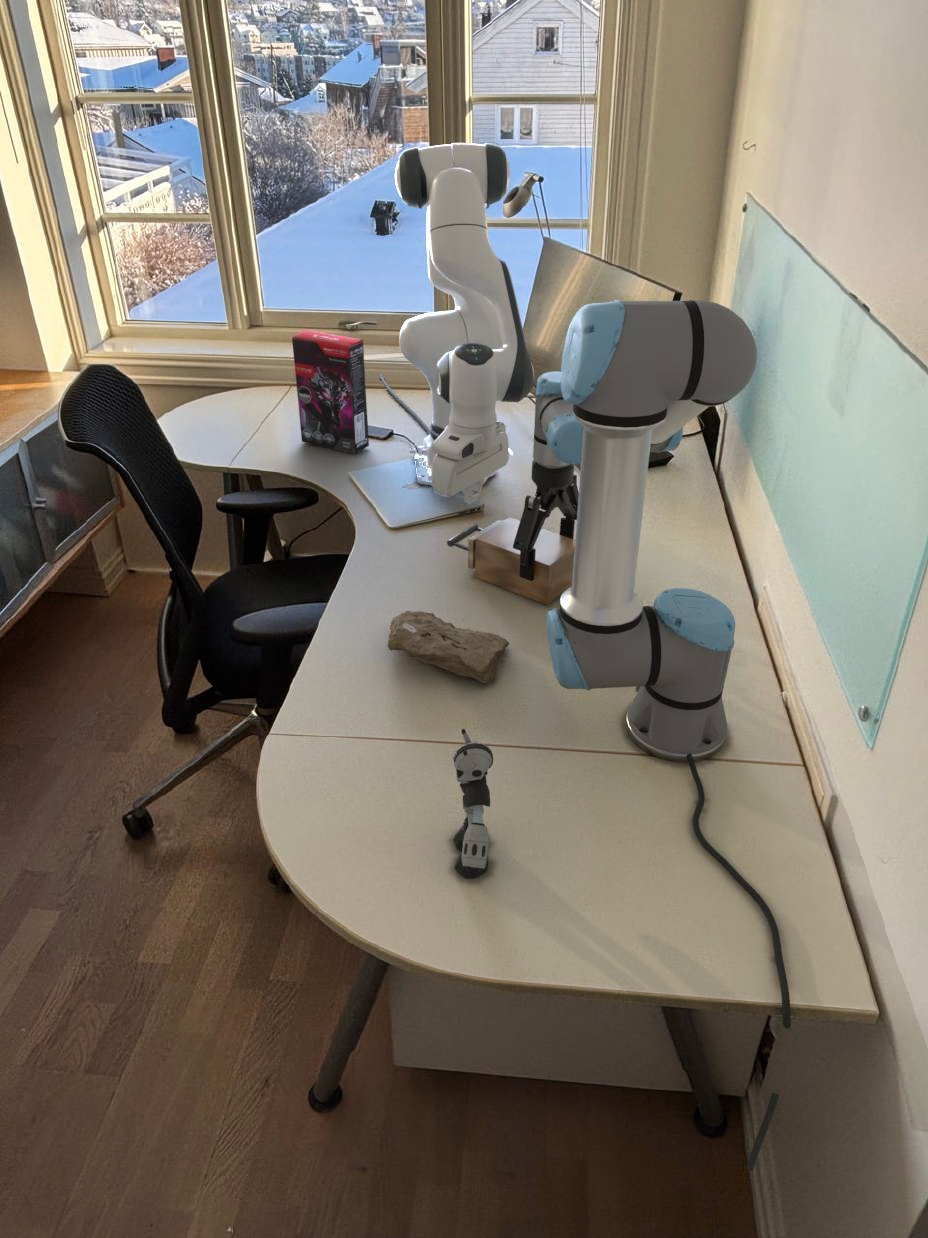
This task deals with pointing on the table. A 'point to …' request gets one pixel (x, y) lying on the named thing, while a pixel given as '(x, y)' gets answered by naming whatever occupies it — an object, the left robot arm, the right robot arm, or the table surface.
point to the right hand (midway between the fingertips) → (546, 563)
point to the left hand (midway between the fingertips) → (471, 500)
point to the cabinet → (503, 562)
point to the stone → (447, 645)
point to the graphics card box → (331, 390)
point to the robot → (473, 807)
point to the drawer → (470, 541)
